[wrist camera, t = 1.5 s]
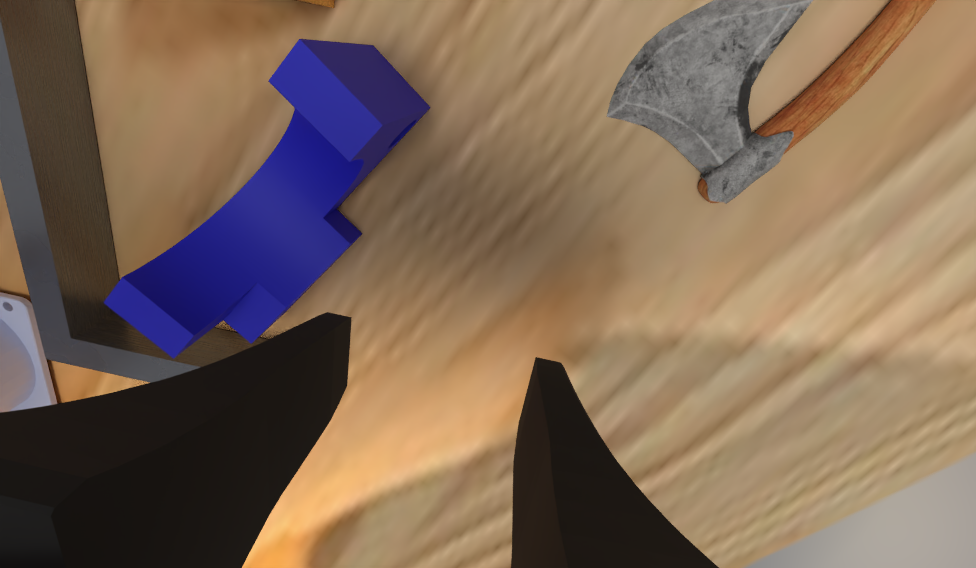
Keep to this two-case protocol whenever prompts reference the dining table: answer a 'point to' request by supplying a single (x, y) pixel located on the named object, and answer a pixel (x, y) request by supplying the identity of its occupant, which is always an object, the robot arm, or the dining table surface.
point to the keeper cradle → (71, 202)
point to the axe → (742, 85)
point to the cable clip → (279, 204)
